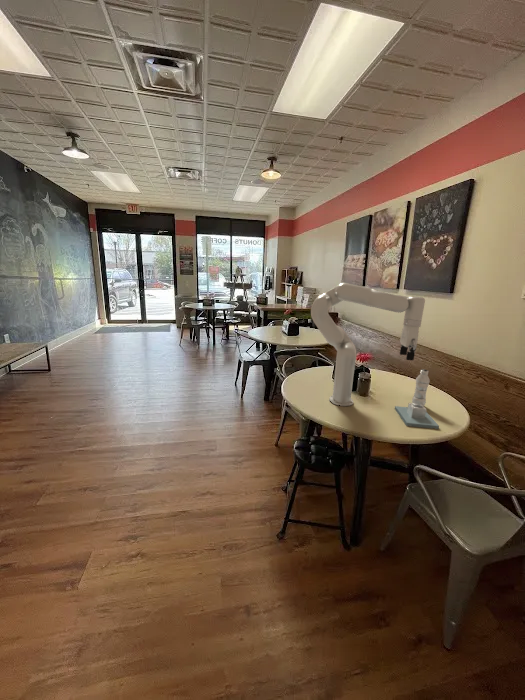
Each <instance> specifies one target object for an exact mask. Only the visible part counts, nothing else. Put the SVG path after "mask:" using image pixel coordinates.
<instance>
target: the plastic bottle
mask: <svg viewBox="0 0 525 700" xmlns="http://www.w3.org/2000/svg"><path fill="white" fill-rule="evenodd" d="M419 373H420V374H418V376H417V377H416V378H415V388H414V394H413V397H412V399H411V403H417V404H422V405H423V406H424V407H425V405H426V403H427V402H426V399H427V390H428V387H429V384H430V381H431V380H430V378H429V376H428V375H429V370H427V369H423V368H421V369H420V371H419Z"/></svg>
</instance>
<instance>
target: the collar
mask: <svg viewBox="0 0 525 700" xmlns="http://www.w3.org/2000/svg"><path fill="white" fill-rule="evenodd" d="M407 407H408V410H407V413H408V414H409V415H410V416H411V418H420V419H425V415H426V412H427V408H426V407H425V405H424V406H423V405H422V404H417V403H412V402H408V406H407ZM416 407H419V408H416Z"/></svg>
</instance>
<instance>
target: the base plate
mask: <svg viewBox="0 0 525 700" xmlns="http://www.w3.org/2000/svg"><path fill="white" fill-rule="evenodd" d="M416 408H419V407H416ZM394 410H395V411H396V413H397V414H398V417H400V419H401V420H402V421H403V423H404V425H405V426H406V427H412V428H413V427H414V428H416V427H417V428H424V429H425V428H426V429H433V428H435V429H436V430H438V429H439V428H440V425H439V424H438V422H436V420H435V419H434V418H432V416H431V415H430V414H429V413H428V412H427V411H426V415H425V419H420V418H411V416H410V415H409V414H408V413H407V410H408V406H399V405H397V406H396V405H395V406H394ZM435 429H434V430H435ZM439 430H440V429H439Z"/></svg>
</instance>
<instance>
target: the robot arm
mask: <svg viewBox="0 0 525 700" xmlns="http://www.w3.org/2000/svg"><path fill="white" fill-rule="evenodd" d="M341 302H348V303H353V304H357V305H362V306H366V307H372V308H376V309H381V310H385V311H388V312H394V313H398V314H399V313H403V312H404V318H403V322H402V323H403V324H402V326H403V327H402V331H401V334H400V339H399V343H400V344H401V345H400V350H399V355H400V356H401V355H402V356H406V359H405V360H406V361H414V358H415V354H416V350H417V346H418V339H419V332H420V331H419V330H420V328H421V327H422V325H421V324H422V320H423V314H424V309H425V305H426V303H425V302H426V300H425V298H424V297H422V296H407V295H406V296H405V295H398V294H392V293H388V292H382V291H381V290H378V289H377V290H376V289H375V288H371V287H367V286H361V285H359V284H358V285H357V284H352V283H348V282H340V283H339V284H338V285H336V286H334V287H332V288H331V289H329V290H327V291H325V292H324V293H322V294H320V295H318V296H316V298H315V299H314V301H313V303H312V304H311V308H310V315H311V320H312V321H313V323H314V325H315V326H316V327H317V329H318V330H319V332H320V333H321V335H322V336H323V338H324V339H325V340H326V342H327V343H328V344H329V345H331V346H333V347H334V349H335V350H336V358H335V360H336V361H335V369H334V370H335V371H334V379H333V380H334V381H333V388H332V390H333V391H332V395H330V396H329V402H330V401H331V402H332V403H331V402H330V403H331V404H333V405H336V406H339V405H340V406H341V407H349V406H352V405H354V399H352V390H353V382H354V376H355V375H354V374H355V367H356V360H357V348H356V345H355V343H353V341H352V340H351V338H350V337H349V335H348V334H347V333H346V332H345V330H344V329H343V327H341V326H340V325H337V324H336V322H334V320H333V318H332V316H331V315H330V314H329V310H330V308H332V307H334V306H336V305H338V304H339V303H341Z"/></svg>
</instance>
